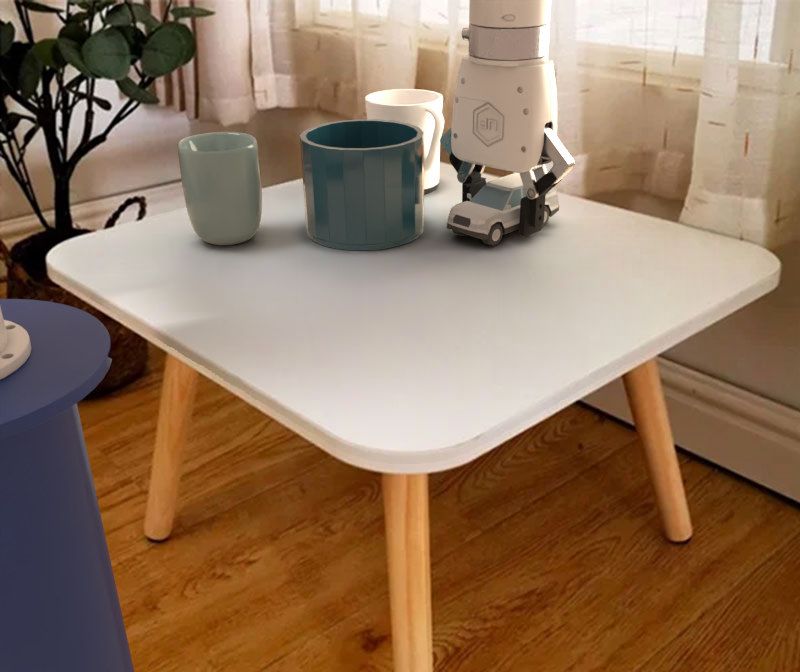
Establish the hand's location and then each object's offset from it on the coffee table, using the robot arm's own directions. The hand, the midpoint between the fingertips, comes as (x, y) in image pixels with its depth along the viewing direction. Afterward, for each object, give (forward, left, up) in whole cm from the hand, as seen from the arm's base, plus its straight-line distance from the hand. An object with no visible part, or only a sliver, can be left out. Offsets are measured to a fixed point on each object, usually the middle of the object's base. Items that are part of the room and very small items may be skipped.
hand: (501, 224), depth 98 cm
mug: (+5, +17, -1) cm, 18 cm away
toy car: (0, 0, -1) cm, 1 cm away
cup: (-20, +20, -1) cm, 28 cm away
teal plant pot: (-9, +11, -1) cm, 14 cm away
